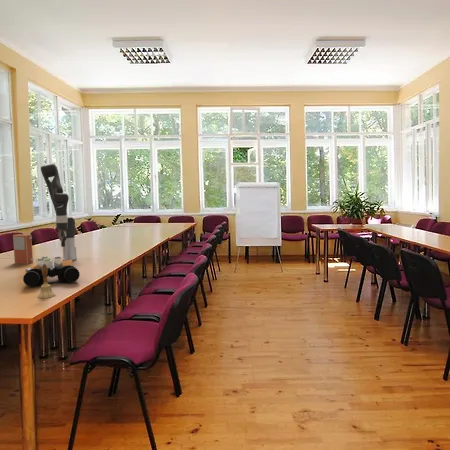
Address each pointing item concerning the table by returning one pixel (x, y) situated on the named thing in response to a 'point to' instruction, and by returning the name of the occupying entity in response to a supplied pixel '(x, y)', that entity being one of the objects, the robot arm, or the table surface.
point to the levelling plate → (47, 263)
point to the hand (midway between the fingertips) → (63, 246)
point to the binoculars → (51, 275)
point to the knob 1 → (38, 264)
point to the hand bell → (45, 285)
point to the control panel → (23, 248)
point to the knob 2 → (61, 262)
